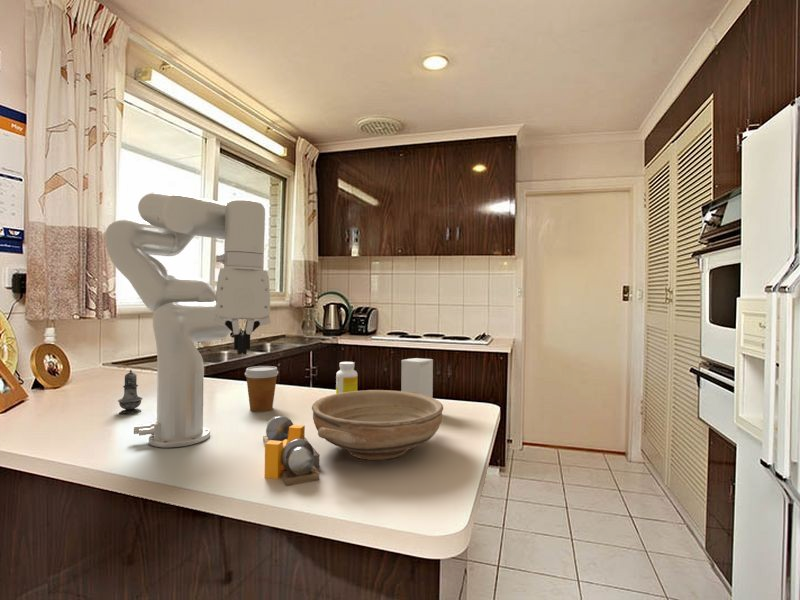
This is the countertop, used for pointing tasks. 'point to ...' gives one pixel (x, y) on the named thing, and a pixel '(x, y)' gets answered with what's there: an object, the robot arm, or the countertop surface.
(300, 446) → the pipe run
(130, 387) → the salt shaker
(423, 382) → the skincare box
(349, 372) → the supplement bottle
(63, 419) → the countertop surface
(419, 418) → the ceramic bowl
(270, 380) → the disposable coffee cup
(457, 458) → the countertop surface
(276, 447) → the pipe clamp
